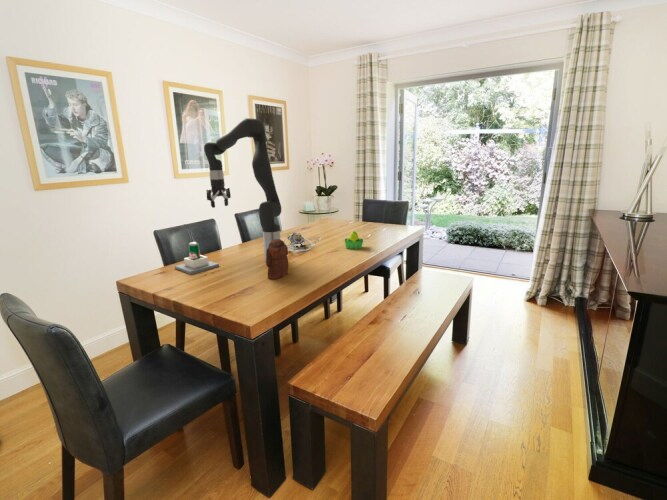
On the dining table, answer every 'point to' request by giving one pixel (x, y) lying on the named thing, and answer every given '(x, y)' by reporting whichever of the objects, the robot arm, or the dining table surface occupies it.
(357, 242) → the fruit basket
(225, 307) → the dining table surface
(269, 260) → the wooden figurine
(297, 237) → the passion flower
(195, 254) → the soda can
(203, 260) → the can holder
